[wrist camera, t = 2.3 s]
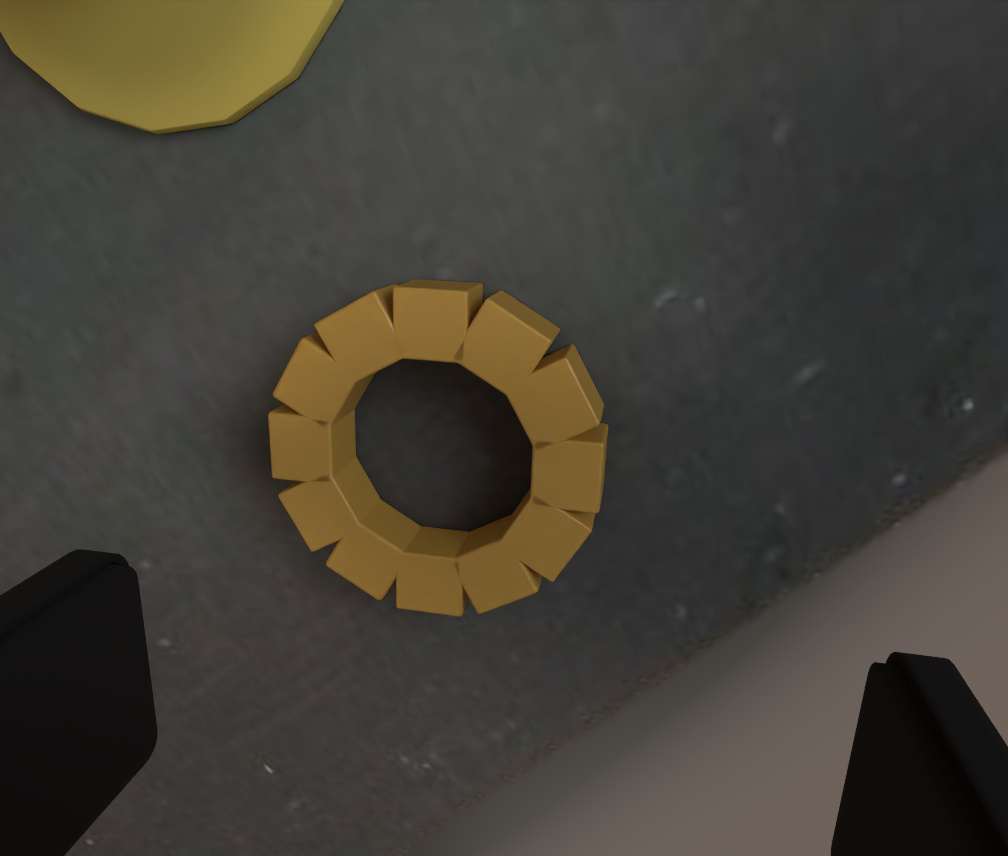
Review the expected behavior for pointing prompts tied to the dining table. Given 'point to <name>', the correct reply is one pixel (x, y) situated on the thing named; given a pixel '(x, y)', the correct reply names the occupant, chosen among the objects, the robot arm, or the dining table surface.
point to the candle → (167, 54)
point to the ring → (382, 529)
